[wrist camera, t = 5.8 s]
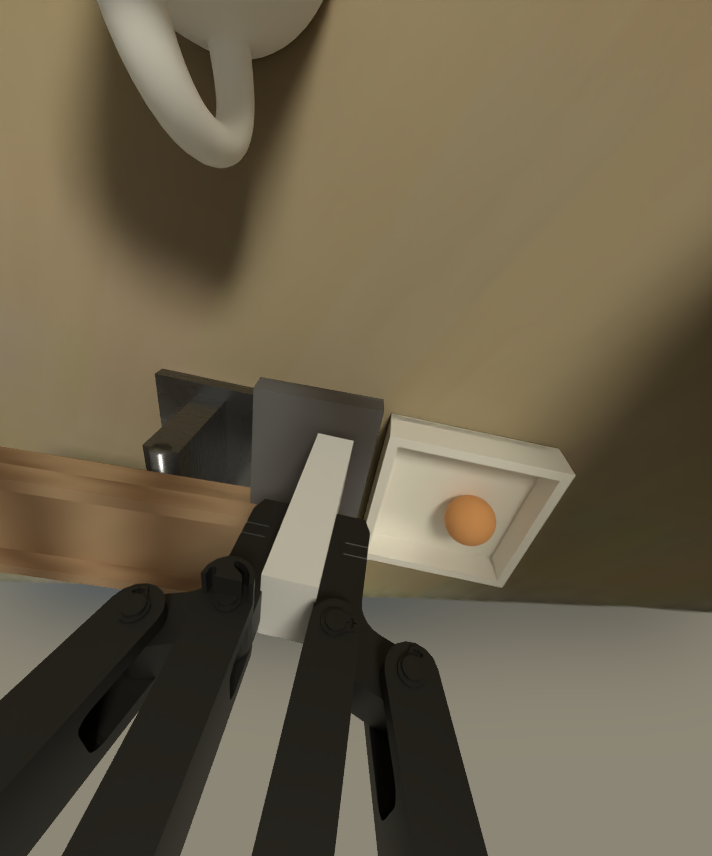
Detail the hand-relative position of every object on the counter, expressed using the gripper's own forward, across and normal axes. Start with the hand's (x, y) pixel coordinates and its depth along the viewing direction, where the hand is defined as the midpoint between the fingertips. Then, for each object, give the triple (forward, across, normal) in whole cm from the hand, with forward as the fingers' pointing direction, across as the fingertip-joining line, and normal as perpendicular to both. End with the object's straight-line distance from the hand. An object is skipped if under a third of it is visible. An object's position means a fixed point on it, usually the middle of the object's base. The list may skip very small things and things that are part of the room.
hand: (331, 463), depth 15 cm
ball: (+6, +9, -7) cm, 13 cm away
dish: (+8, +8, -7) cm, 13 cm away
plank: (+1, -8, -4) cm, 9 cm away
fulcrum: (+8, -8, -7) cm, 13 cm away
